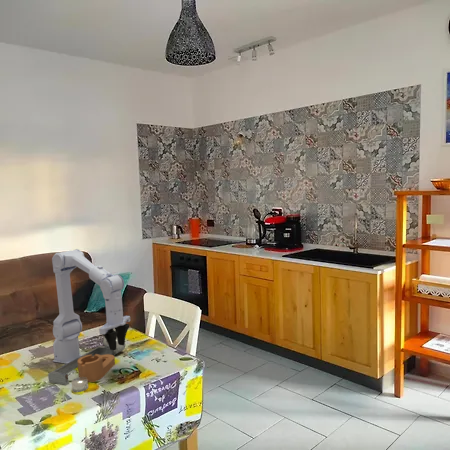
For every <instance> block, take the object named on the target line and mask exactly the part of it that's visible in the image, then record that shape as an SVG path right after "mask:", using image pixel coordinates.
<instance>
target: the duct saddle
mask: <svg viewBox="0 0 450 450" xmlns="http://www.w3.org/2000/svg"><path fill="white" fill-rule="evenodd" d="M125 349H126V342H125V343H124V345H119V344H118V340H117V338H116V350H110V347H109V345H108V342H107V341H106V342H105V344H104V345H102V346H101V345H99V346H97V347H95V348H93V349H91V350H89V351H88V352H86V353H84V354H81V355H82V356H80V357H78V358H76V359H75V360H73V361H71V362H69V363H67V364H66V363H64V364H63V365H62V366H60V367H58V368H56V369H55V370H52V371H50V372H49V373H47V377H48V379H47V380H48V382H49V383H52V384H57V385H62V386H67V385H69V384H70V383H69V374H68V373H69V372H71V371H73V370H75V369H78V359H79V358H81V357H83V356H86V355H91V354H92V356H94V355H95V354H99V355H106V354H110V355H113V356H114V357H115V356H116V355H118V354H119V353H121V352H123V350H125Z"/></svg>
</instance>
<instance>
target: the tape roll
mask: <svg viewBox="0 0 450 450" xmlns="http://www.w3.org/2000/svg"><path fill="white" fill-rule="evenodd" d="M88 388H89V383H88V380H87V377H79V376H78V377H74V378H73V379H72V380H71V389H72V392H73V393H81V392H84V391H87V389H88Z"/></svg>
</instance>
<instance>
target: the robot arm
mask: <svg viewBox="0 0 450 450" xmlns="http://www.w3.org/2000/svg"><path fill="white" fill-rule="evenodd" d="M51 263H52V270H53V274H54V275H55V284H56V293H57V304H58V311H59V314H58V315H57V317H56V318H55V319H54V320H53V323H52V324H53V327H52V334H53V337H54V338H55V339H54V341H53V344H52V349H53V357H54V359H53V360H52V362H54V363H59V364H67V363H69V362H71V361H73V360H75V359H76V358H78V357H80V356H82V355H83V354H81V353H80V341H79V340H80V339H79V336H80V333H82V330H83V323H82V321H81V319H80V318H81V317H80V315H79V314H77V313H75V311H74V301H73V291H72V283H71V274H72V272H73V270H74V269H76V268H78V269H80V270H81V271H83V272H85V273H87V274H88V277H89V279H90V280H91V281H93V282H94V283H95V284H96V285H98V286H99V288H100V291H101V292H102V297H103V299H104V303H105V304H104V305H105V306H104V307H105V315H106V316H105V317H106V320H107V322H106V323H105V324H103V325H102V326H101V327H99V329H98V330H99V334H100V335H103V337H105V338H106V340H107V342H108V345H109V347H110V350H116V338H117V340H118V344H119V345H124V343H125V344H126V337H127V334H128V330H129V328H130V324H129V323H130V322H131V316H130V315H124V311H123V308H124V307H123V297H122V295H123V294H122V290H123V289H124V287H125V280H124V278H123V277H122V276H121V275H120V274H118V273H117V274H113V273H112V272H110V271H108V270H107V269H105V268H104V266H103V265H95V264H93V263H92V261H90V260H89V259H87V257H85V254H84V252H83V251H82V250H80V249H78V248H76V249H73V250H66V251H61V252H59V251H58V252H56V253H54V255H53V256H52V257H51ZM127 322H128V323H127ZM113 329H115V331H114V330H113Z"/></svg>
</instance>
